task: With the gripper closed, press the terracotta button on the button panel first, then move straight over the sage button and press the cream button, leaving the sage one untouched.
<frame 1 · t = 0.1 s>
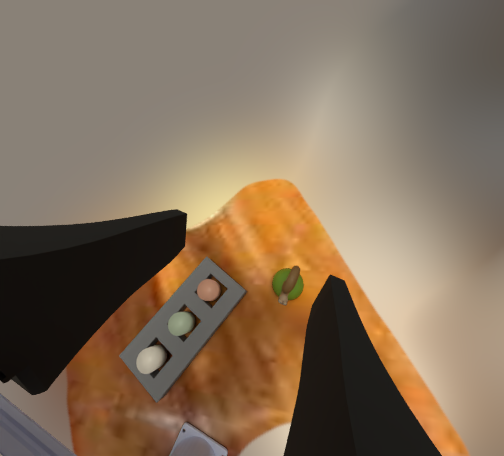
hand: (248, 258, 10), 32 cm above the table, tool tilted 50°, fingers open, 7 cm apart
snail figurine: (285, 287, 40), on the table
terracotta button: (209, 290, 38), point 3 cm above the table, slide at 0.0 cm
button panel: (189, 321, 39), on the table
sage button: (182, 322, 36), point 3 cm above the table, slide at 0.0 cm
cream button: (152, 358, 35), point 3 cm above the table, slide at 0.0 cm
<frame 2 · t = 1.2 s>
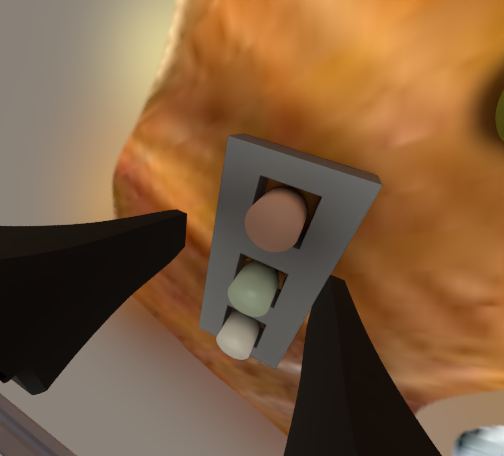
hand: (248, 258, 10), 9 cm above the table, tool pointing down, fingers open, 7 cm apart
terracotta button: (277, 218, 14), point 3 cm above the table, slide at 0.0 cm
button panel: (266, 265, 21), on the table
sage button: (254, 287, 18), point 3 cm above the table, slide at 0.0 cm
cream button: (239, 333, 22), point 3 cm above the table, slide at 0.0 cm
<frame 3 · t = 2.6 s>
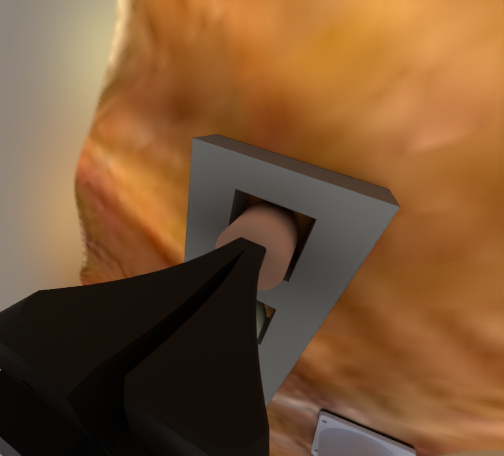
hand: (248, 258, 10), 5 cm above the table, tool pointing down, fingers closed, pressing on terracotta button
terracotta button: (259, 244, 11), point 3 cm above the table, slide at 0.1 cm, touching gripper
button panel: (252, 291, 17), on the table
sage button: (235, 323, 15), point 3 cm above the table, slide at 0.0 cm
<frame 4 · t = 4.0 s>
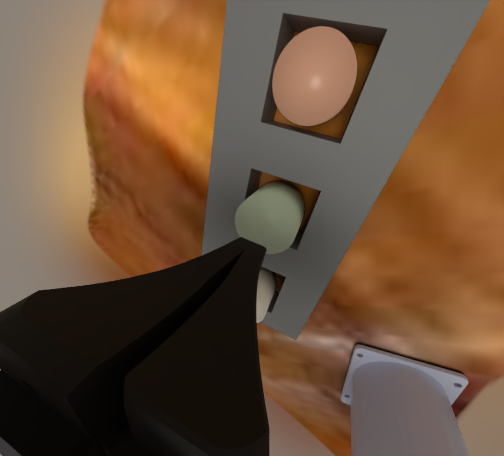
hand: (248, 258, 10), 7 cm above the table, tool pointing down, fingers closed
terracotta button: (315, 84, 11), point 2 cm above the table, slide at 1.5 cm
button panel: (284, 198, 16), on the table
sage button: (271, 216, 13), point 3 cm above the table, slide at 0.0 cm
cream button: (249, 291, 17), point 3 cm above the table, slide at 0.0 cm
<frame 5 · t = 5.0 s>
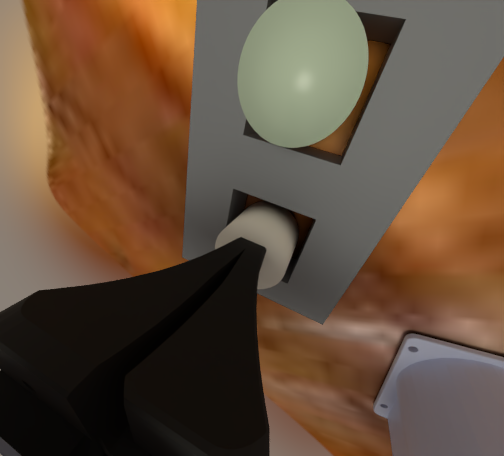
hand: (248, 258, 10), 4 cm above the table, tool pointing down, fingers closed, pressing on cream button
button panel: (315, 95, 10), on the table
sage button: (304, 86, 7), point 3 cm above the table, slide at 0.0 cm
cream button: (259, 243, 11), point 3 cm above the table, slide at 0.4 cm, touching gripper
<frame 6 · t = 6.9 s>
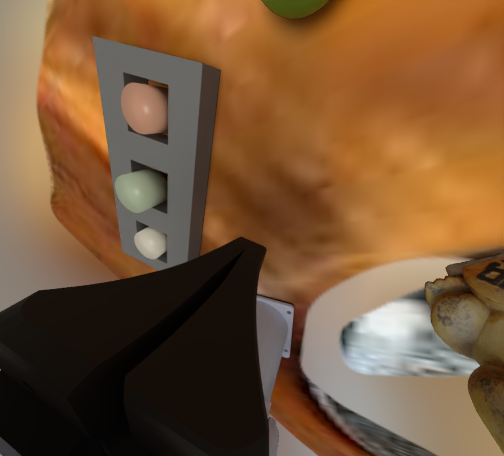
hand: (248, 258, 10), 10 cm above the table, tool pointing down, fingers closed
terracotta button: (152, 110, 18), point 2 cm above the table, slide at 1.5 cm
decorative figurine: (498, 287, 16), on the table
button panel: (166, 181, 23), on the table
sage button: (143, 190, 21), point 3 cm above the table, slide at 0.0 cm
cream button: (156, 239, 25), point 2 cm above the table, slide at 1.5 cm
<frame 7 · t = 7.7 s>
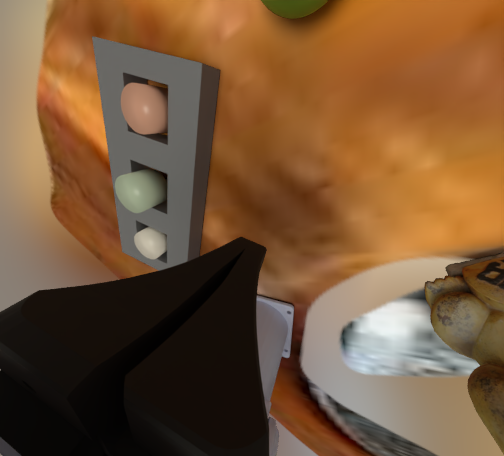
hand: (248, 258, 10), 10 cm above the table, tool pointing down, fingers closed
terracotta button: (152, 110, 18), point 2 cm above the table, slide at 1.5 cm
decorative figurine: (498, 287, 16), on the table
button panel: (166, 181, 23), on the table
sage button: (143, 190, 21), point 3 cm above the table, slide at 0.0 cm
cream button: (156, 239, 25), point 2 cm above the table, slide at 1.5 cm
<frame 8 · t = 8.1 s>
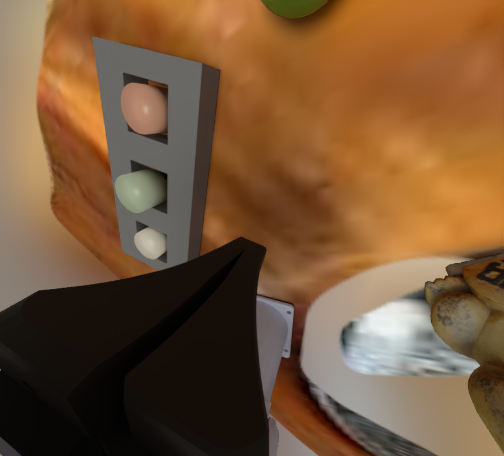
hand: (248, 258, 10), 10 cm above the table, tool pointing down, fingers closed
terracotta button: (152, 110, 18), point 2 cm above the table, slide at 1.5 cm
decorative figurine: (498, 287, 16), on the table
button panel: (166, 181, 23), on the table
sage button: (143, 190, 21), point 3 cm above the table, slide at 0.0 cm
cream button: (156, 239, 25), point 2 cm above the table, slide at 1.5 cm
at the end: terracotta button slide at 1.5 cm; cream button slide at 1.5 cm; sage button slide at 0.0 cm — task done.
